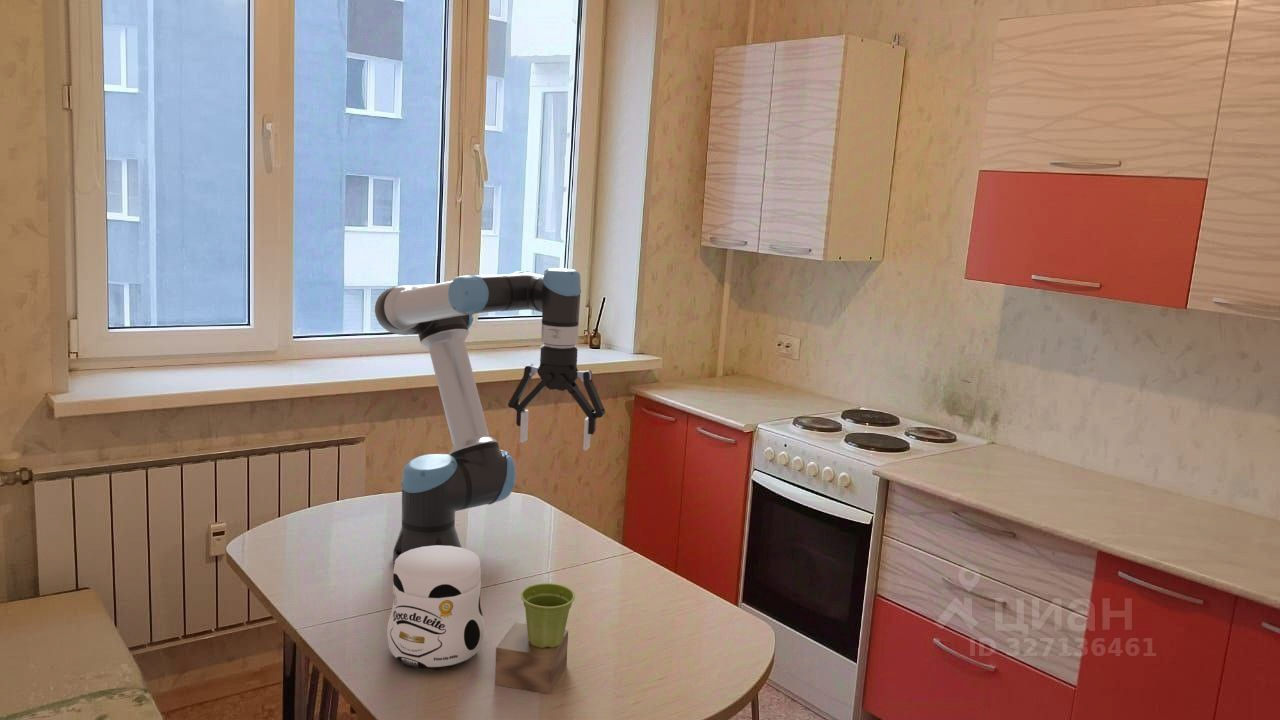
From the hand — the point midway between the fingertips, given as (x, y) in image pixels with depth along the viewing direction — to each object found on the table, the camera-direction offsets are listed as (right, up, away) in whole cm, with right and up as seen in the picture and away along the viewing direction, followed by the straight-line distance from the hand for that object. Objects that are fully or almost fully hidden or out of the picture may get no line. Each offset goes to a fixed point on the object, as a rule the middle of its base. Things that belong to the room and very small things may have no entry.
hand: (554, 445), depth 202 cm
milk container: (-20, -36, -25) cm, 48 cm away
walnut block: (-2, -38, -30) cm, 49 cm away
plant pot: (+1, -32, -32) cm, 45 cm away
